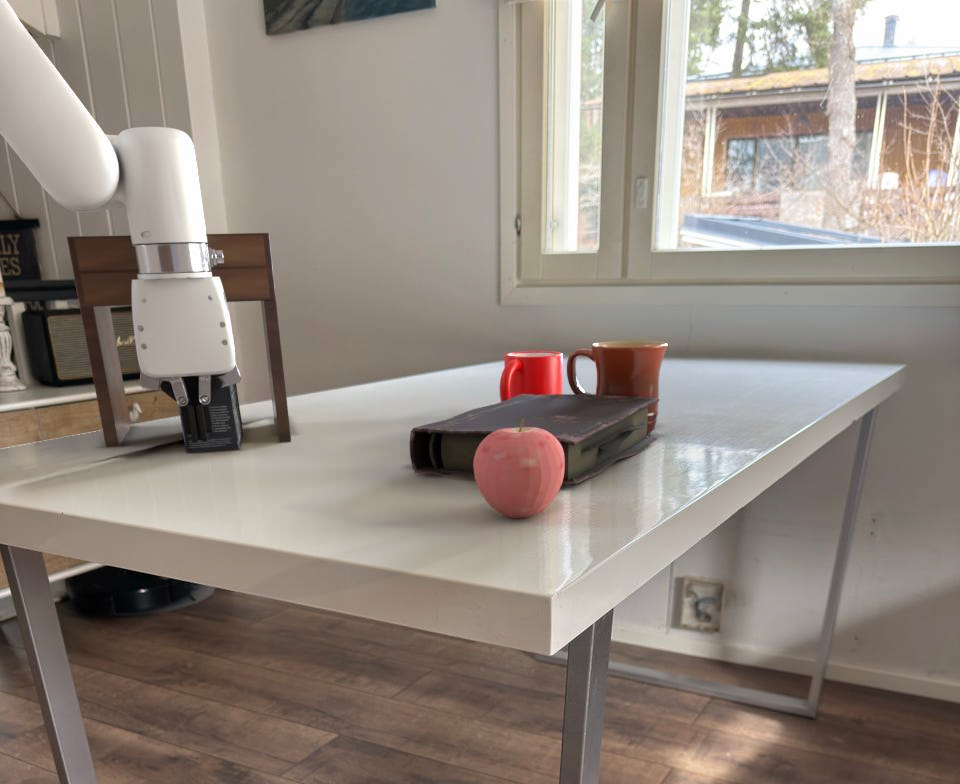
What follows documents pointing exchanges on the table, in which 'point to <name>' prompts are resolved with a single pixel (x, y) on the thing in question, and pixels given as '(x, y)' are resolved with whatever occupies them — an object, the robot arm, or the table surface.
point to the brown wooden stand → (108, 282)
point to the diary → (568, 417)
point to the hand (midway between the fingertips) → (200, 439)
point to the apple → (519, 470)
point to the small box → (217, 419)
